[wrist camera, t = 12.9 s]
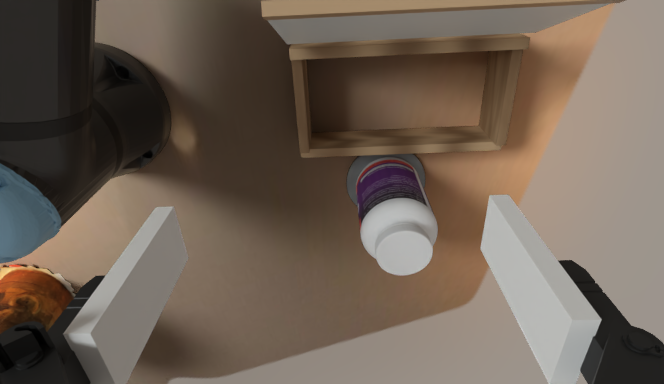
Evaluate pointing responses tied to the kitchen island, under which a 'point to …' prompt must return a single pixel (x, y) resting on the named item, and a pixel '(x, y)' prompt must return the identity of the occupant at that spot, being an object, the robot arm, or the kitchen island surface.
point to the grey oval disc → (366, 159)
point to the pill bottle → (395, 216)
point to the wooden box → (416, 140)
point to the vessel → (32, 296)
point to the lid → (415, 18)
